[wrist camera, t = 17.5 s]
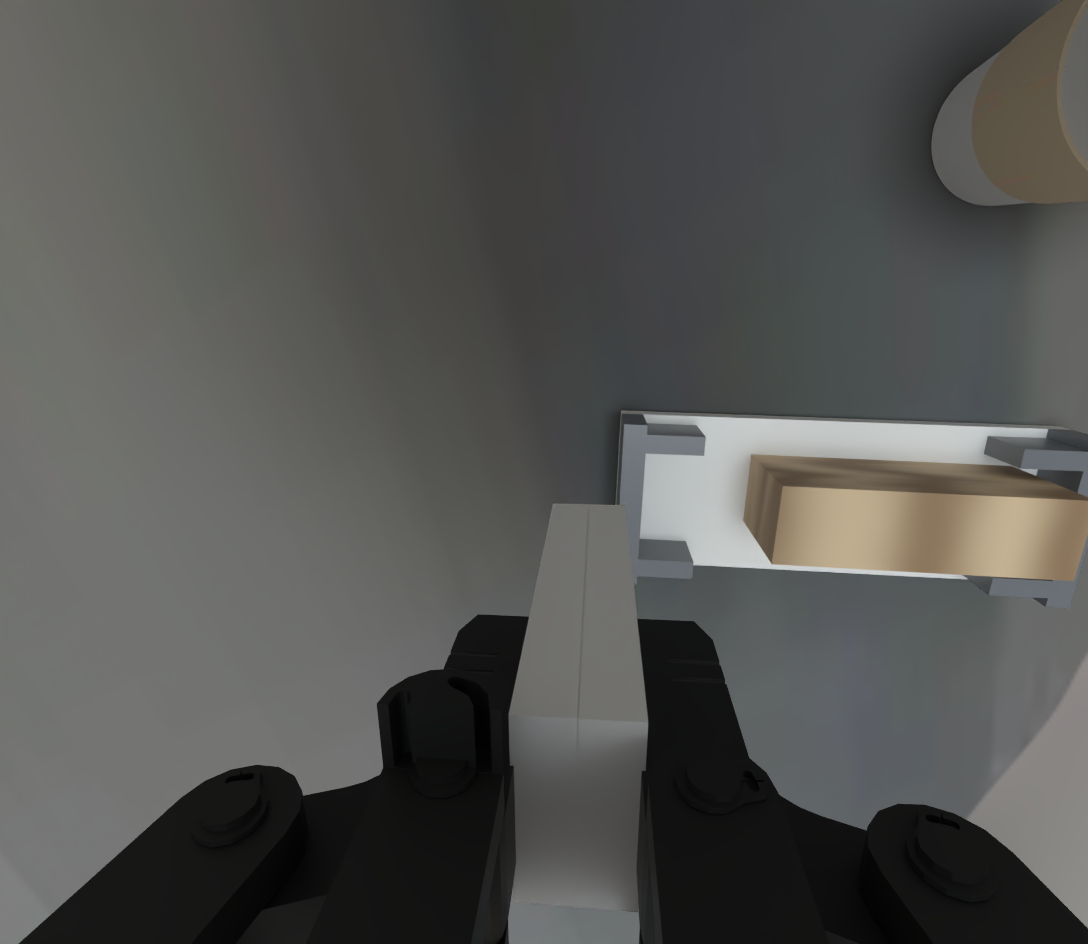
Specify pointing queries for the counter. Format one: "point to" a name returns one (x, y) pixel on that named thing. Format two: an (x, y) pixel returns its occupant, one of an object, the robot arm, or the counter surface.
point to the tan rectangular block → (914, 517)
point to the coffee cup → (1021, 118)
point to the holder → (729, 440)
